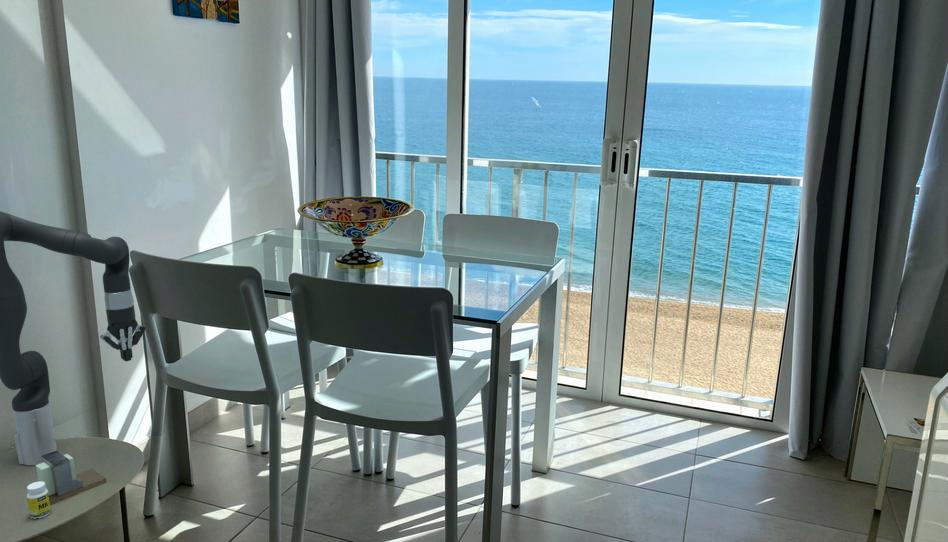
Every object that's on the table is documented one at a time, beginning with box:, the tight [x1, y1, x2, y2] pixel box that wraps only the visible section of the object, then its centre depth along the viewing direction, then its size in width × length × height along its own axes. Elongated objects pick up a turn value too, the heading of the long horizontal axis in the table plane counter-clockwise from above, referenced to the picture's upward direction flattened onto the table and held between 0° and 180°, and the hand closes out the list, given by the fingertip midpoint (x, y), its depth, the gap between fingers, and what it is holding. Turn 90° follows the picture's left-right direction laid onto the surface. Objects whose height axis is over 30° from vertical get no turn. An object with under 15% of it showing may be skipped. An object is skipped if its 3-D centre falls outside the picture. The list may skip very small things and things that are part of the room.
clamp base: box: [41, 449, 107, 506], centre depth 195 cm, size 15×9×10 cm, turn 141°
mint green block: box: [35, 453, 77, 496], centre depth 192 cm, size 8×4×8 cm, turn 141°
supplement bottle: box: [26, 481, 52, 520], centre depth 182 cm, size 5×5×8 cm
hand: (127, 360), depth 211 cm, fingers closed
